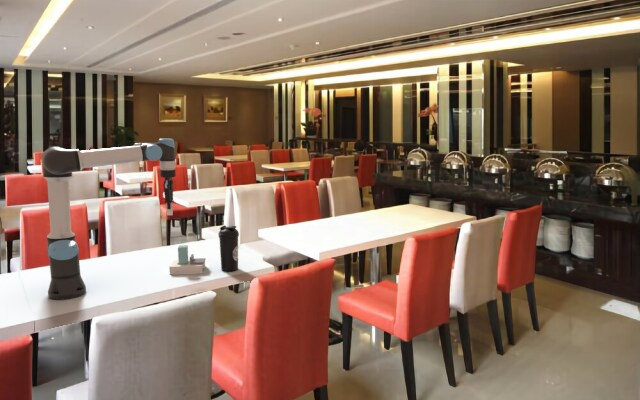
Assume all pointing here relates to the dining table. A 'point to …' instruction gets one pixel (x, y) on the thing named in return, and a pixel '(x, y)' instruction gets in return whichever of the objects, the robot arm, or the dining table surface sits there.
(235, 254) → the water bottle
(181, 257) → the teal block
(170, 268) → the socket block
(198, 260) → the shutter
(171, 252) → the dining table surface
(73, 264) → the robot arm
